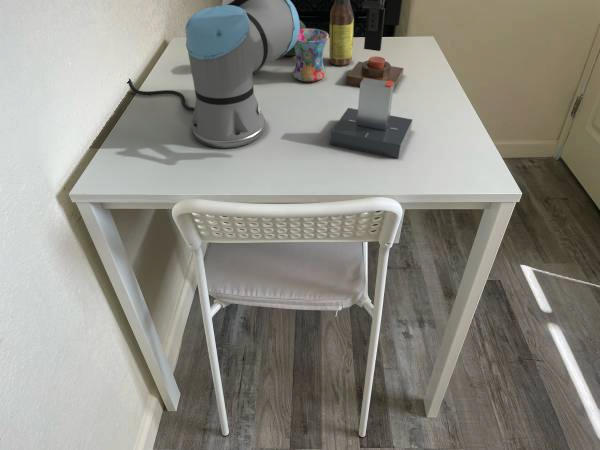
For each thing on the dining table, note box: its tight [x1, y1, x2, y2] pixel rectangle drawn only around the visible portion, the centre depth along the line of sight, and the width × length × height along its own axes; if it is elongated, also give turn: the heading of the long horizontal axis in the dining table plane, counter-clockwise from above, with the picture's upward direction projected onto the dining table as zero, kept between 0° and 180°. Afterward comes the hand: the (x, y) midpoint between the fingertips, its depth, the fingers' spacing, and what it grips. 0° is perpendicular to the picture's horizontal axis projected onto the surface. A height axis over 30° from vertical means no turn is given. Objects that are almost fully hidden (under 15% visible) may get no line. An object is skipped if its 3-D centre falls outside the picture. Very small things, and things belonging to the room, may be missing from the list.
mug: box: [292, 28, 330, 82], centre depth 115 cm, size 12×9×11 cm
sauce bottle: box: [329, 0, 355, 66], centre depth 118 cm, size 6×6×20 cm
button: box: [368, 56, 386, 69], centre depth 113 cm, size 4×4×2 cm
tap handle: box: [357, 78, 394, 130], centre depth 89 cm, size 6×2×9 cm, turn 67°
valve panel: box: [330, 107, 413, 159], centre depth 93 cm, size 14×11×3 cm
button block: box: [345, 59, 404, 92], centre depth 115 cm, size 12×10×4 cm
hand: (382, 36), depth 81 cm, fingers open, 13 cm apart
